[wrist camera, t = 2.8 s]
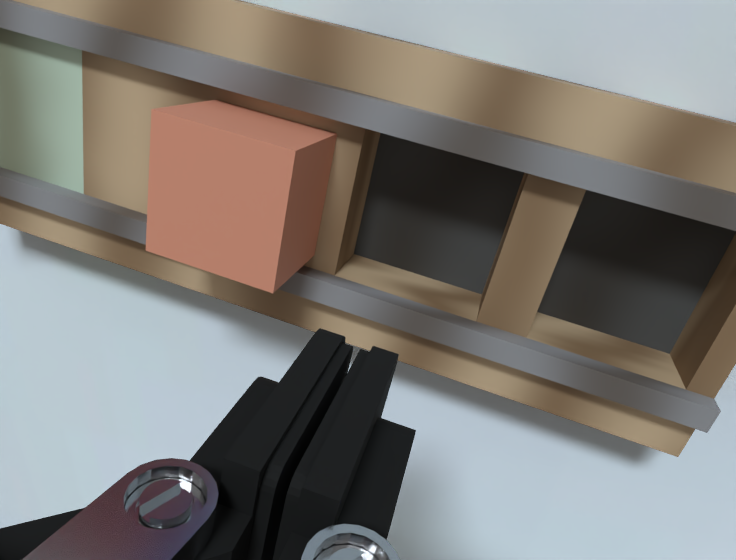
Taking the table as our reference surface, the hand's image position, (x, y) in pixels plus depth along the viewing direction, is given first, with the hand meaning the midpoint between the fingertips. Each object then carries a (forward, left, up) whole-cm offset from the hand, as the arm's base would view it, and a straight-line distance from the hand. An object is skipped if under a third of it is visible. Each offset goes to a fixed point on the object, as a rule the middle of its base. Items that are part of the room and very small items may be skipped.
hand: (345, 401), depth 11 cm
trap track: (+5, 0, -14) cm, 15 cm away
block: (+7, 0, -11) cm, 13 cm away
